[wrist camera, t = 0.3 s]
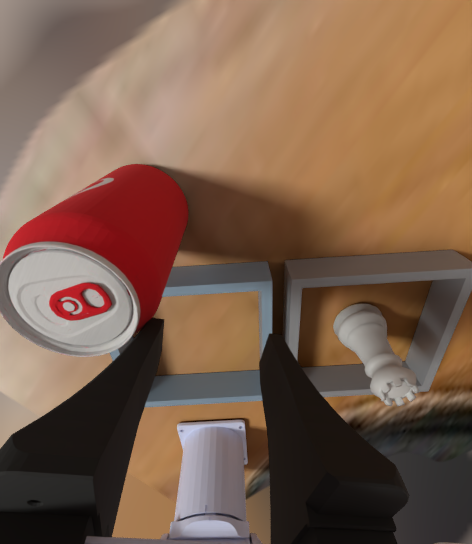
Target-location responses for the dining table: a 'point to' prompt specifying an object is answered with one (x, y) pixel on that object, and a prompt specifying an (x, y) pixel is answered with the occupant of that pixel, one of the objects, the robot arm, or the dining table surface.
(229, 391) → the slate bin
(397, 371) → the rook chess piece
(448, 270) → the charcoal bin
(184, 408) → the dining table surface
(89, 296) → the beverage can
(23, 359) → the dining table surface
